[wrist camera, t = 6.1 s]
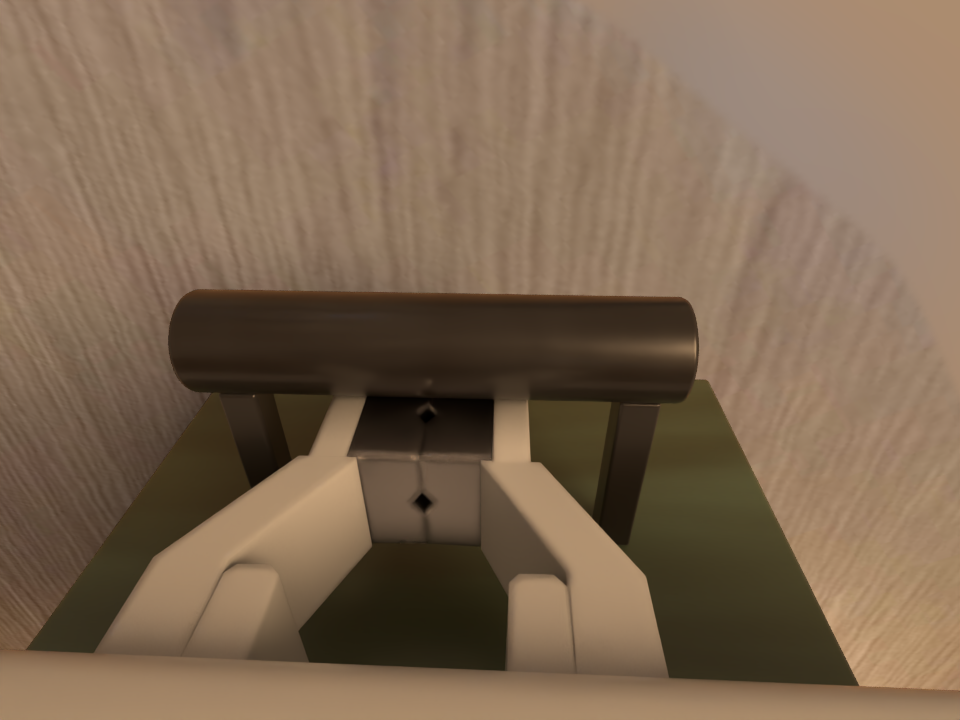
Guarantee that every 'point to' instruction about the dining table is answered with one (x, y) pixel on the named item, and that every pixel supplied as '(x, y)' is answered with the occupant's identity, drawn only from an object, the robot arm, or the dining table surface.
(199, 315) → the drawer
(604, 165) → the dining table surface
